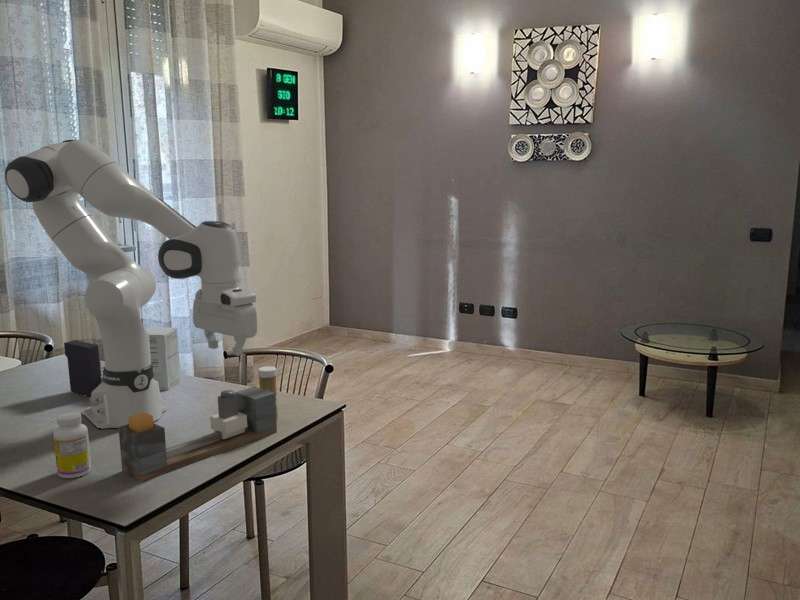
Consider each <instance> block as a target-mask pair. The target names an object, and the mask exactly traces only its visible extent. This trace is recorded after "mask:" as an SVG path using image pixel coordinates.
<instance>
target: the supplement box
mask: <svg viewBox="0 0 800 600" xmlns="http://www.w3.org/2000/svg"><path fill="white" fill-rule="evenodd" d="M144 329H145V330H146V331H147V332H148V334H149V341H150V355H151V363H153V368H154V377H153V379H154V380H156V381H157V382H158V385H159V391H169V390H171V389H172V388H173V387H174V386H176V385H177V384H178V383H180V382H181V381H182V376H181V364H180V361H181V360H180V352H179V349H180V348H179V347H180V346H179V336H178V327H164V326H163V327H160V326H159V327H158V326H149V327H147V328H144Z"/></svg>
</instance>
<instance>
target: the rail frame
mask: <svg viewBox="0 0 800 600" xmlns="http://www.w3.org/2000/svg"><path fill="white" fill-rule="evenodd" d="M234 393H235V394H237V403H238V412H240V413H242V414H245V415H247V427H246V428H245V432H243V433H240V434H238V435H235V436H232V437H229V438H226V439H222V436H221V432H219V431H217V432H214V431H213V432H212V433H211V432H210V433H208V434H206V435H203V436H200V437H197V438H193V439H192V440H188V441H185V442H182V443H178V444H177V445H174V446H170V447H167V445H166V444H167V443H166V432H165V431H166V430H165V427H163V426H161V425H159V424H157V423H154V422H153V424H154V428H152V429H148V430H145V431H142V432H139V433H136V432H134V431H132V430H130V429H129V424H127V425H124V426H120V427H119V428H118V435H119V449H120V450H119V451H120V460H121V461H120V462H121V471H122V472H123V473H125V474H127V475H129V476H131V477H132V478H134V479H136V480H138V481H140V482H144V481H147V480H150V479H153V478H155V477H159V476H160V475H164V474H166V473H169V472H171V471H175V470H177V469H180V468H183V467H186V466H188V465H191V464H193V463H195V462H196V463H197V462H199V461H201V460H204V459H208V458H210V457H213V456H215V455H217V454H221V453H224V452H226V451H229V450H231V449H234V448H236V447H237V448H238V447H240V446H242V445H245V444H248V443H251V442H253V441H256V440H259V439H262V438H264V437H268V436H270V435H273V434H276V433H278V428H277V419H276V398H275V393H273V392H270V391H267V390H264V389H261V388H260V387H257V386H252V387H249V388H245V389H242V390H239V391H236V392H235V391H234ZM272 433H273V434H272Z"/></svg>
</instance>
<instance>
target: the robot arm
mask: <svg viewBox="0 0 800 600" xmlns="http://www.w3.org/2000/svg"><path fill="white" fill-rule="evenodd" d="M4 179H5V180H4V181H5V183H6V185H7V187H8V189H9V191H10V192H11V193H12V195H14V196H15V197H16V198H17V199H18V200H20V201H22V202H25V203H32V210H33V212H34V215H35V216H36V218H37V220H38V222H39V223H40V225H41V227H42V228H43V230H44V231H45V233H46V235H47V236H48V237H49V238H50V240H51V241H52V242H53V243H54V245H55V246H56V247H57V248H58V250H59V251H60V252H61V254H63V256H64V257H65V259H66V260H67V261H68V262H69V264H71V266H73V268H75V269H77V270H79V271H80V272H83V273H84V274H86V275H87V277H89V278H91V279H92V280H93V281H92V282H91V283H90V284H89V285H88V286H87V287H86V289H85V290H84V294H83V295H84V296H83V298H84V299H83V300H84V304H85V307H86V309H87V311H89V313H90V314H91V315H92V316H93V317H94V319H95V321H96V324H97V327H98V329H99V332H100V337H101V340H102V348H103V361H104V366H103V367H101V372H102V376H101V378H102V382H101V383H100V384H99V385H98V386H97V387H96V388H95V389H94V390H93V391H92V393H91V398H90V397H88V403H89V406H88V407H86V408H84V409H82V413H83V414H82V415H83V416H84V415H85V416H86V417H87V418H88V419H89V420H90V421H91V422H92V423H93V424H94V425H95V426H96V427H97V428H96V429H98V428H101V430H102V429H113V428H116V429H119V427H120V426H124V425H127V424H129V420H128V417H129V416H132V415H136V414H139V413H142V412H145V413H147V414H150V415H152V416H153V423H154V422H155V421H158V420H159V419H160V418H161V417H162V415H163V413H164V412H166V410H167V406H166V405H164V404H162V397H161V390H159V385H158V382H157V381H156V380H154V379H153V377H154V368H153V363H151V355H150V341H149V334H148V332H147V331H146V330H145V329H146V328H145V326H144V324H143V322H142V318H141V314H140V308H141V307H143V306H145V305H146V304H147V303H148V302H149V301H150V300H151V299H152V297H153V296H154V295H155V292H156V289H157V281H156V278H155V276H154V275H153V273H152V272H151V271H150V270H149V269H148V268H145V267H143V266H141V265H140V264H138V263H137V262H136V260H134V259H133V258H132V257H131V256H129V254H127V253H126V252H125V251H123V250H122V248H120V247H119V246H118V245H117V244H116V243H115V242H114V241H113V240H112V239H111V238H110V236H109V235H108V234H107V233H106V231H105V230H104V228H103V227H101V225H100V223H99V222H98V221H97V220H96V219H95V217H94V216H93V214H91V212H90V211H89V210H88V209H87V208H86V207H85V206H84V204H83V203H82V201H81V199H80V197H81V198H82V199H83V200H85V201H86V202H87V203H88V204H89V205H90V206H91V207H93V208H94V209H96V210H98V212H101V213H103V214H104V215H106V216H109V217H114V218H122V219H123V218H124V219H130V220H135V221H140V222H142V223H145V224H147V225H149V226H151V227H153V228H154V229H156V230H157V231H158V232H160V233H161V234H162V235H163V236H165V237H166V238H167V240H165V241H164V242H163V243H162V244H161V245H160V247H159V249H158V254H157V259H158V264H159V266H160V268H161V271H163V273H164V274H165V275H166V276H168V277H169V278H171V279H176V280H184V279H185V280H186V279H188V278H193V277H199V278H200V284H201V285H200V287H201V288H200V289H198V290H197V291H196V293H195V294H194V295H195V296H194V300H193V303H192V304H193V305H192V321H193V322H192V323H193V325H194V327H195V328H196V329H200V330H203V333H204V337H205V338H206V340H207V345H208V346H207V347H208V348H209V349H212V350H216V349H218V348H219V340H217V339H216V336H215V333H217V334H222V335H226V336H230V337H234V339H233V340H234V342H235V344H234V346H233V347H232V354H233V355H234V356H237V357H239V356H242V355H243V354H244V349H243V347H244V345H245V343H246V340H247V339H251V338H254V337H255V336H256V334H257V332H258V315H257V308H256V306H255V304H254V303H256V302H257V295H256V294H255V292H253V291H252V290H250V289H249V288H248V287H246V286H245V285H244V284H243V283H242V278H241V274H240V271H239V267H240V262H241V259H240V257H241V256H240V245H239V239H238V234H237V232H236V229H235V227H234V226H233V225H232V224H229V223H227V222H223V221H217V220H216V221H215V220H206V221H202V222H200V224H198V226H196V225H194V224H193V223H192V222H190V220H188V219H187V218H186V217H184V216H183V215H182V214H180V213H179V212H178V211H177V210H175V208H173V207H172V206H170V205H169V204H168V203H167V202H165V201H164V200H163V199H162V198H160V197H158V196H157V195H156V194H154V192H152V191H150V190H149V189H148V188H147V187H145V186H144V185H143V184H141V183H140V182H139V181H138V180H137V179H135V177H133V176H132V175H131V174H130V173H129V172H128V171H126V170H125V169H124V168H123V167H122V166H121V165H120V164H119V163H117V162H116V160H114V159H113V158H112V157H111V156H109V155H108V154H107V153H105V152H104V151H102V149H99V148H98V147H96V146H95V145H94V144H92V143H90V142H89V141H86V140H83V139H66V140H63V141H61V142H57V143H52V144H49V145H45V146H42V147H40V148H39V149H36V150H34V151H31V152H29V153H28V154H26V155H24V156H18V157H16V158H15V159H13V160H11V161H10V162H9V163H7V165H6V166H5V169H4ZM79 196H80V197H79ZM102 369H103V370H102ZM85 416H84V417H85ZM86 417H85V418H86ZM87 418H86V419H87ZM88 419H87V420H88ZM89 420H88V421H89ZM90 421H89V422H90ZM91 422H90V423H91ZM92 423H91V424H92ZM93 424H92V425H93ZM94 425H93V426H94ZM95 426H94V427H95Z"/></svg>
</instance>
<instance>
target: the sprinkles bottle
mask: <svg viewBox="0 0 800 600" xmlns="http://www.w3.org/2000/svg"><path fill="white" fill-rule="evenodd" d="M257 374H258V379H259V380H258V381H259V388H261V389H264V390H267V391H270V392H273V393H275V398H276V420H277V419H278V417H279V415H278V393H277V389H278V388H277V367H275V366H269V365H268V366H262V367H260V368H258V371H257Z"/></svg>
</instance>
